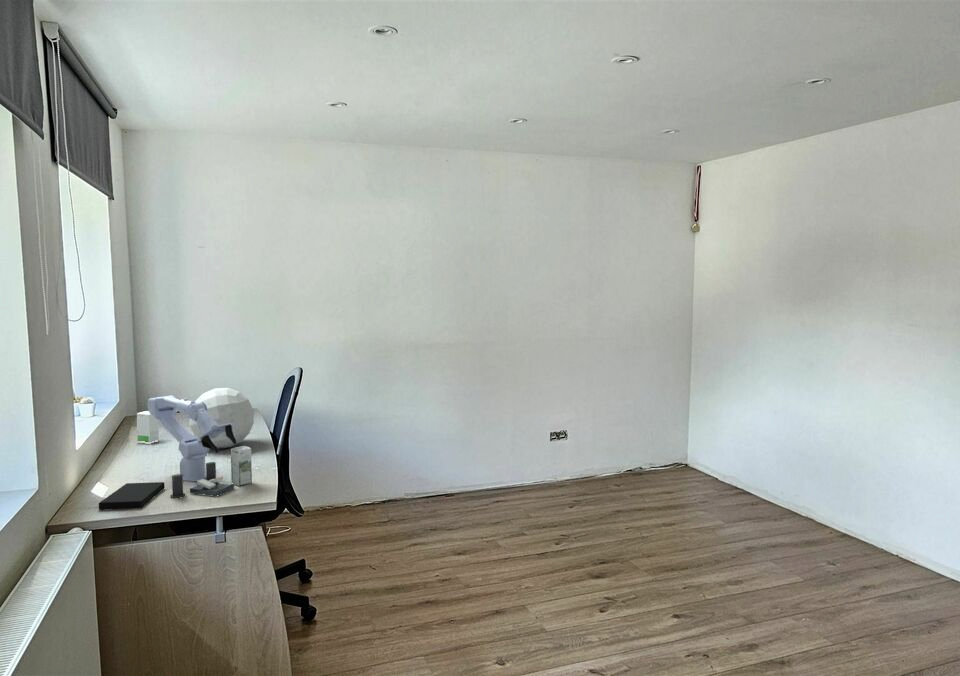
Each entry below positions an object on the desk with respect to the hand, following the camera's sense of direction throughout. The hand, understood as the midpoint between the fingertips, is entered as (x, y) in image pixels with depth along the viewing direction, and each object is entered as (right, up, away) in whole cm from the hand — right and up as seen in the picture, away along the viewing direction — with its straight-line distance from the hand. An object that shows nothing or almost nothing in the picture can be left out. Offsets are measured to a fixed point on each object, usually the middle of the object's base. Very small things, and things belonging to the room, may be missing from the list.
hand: (226, 446), depth 254 cm
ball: (-27, -11, +66) cm, 73 cm away
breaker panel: (-4, -17, -4) cm, 18 cm away
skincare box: (-69, -11, +75) cm, 102 cm away
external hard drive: (-30, -18, -13) cm, 37 cm away
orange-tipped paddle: (-4, -13, -2) cm, 14 cm away
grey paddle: (-5, -13, -7) cm, 15 cm away
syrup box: (+4, -16, +6) cm, 18 cm away
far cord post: (-9, -16, +7) cm, 19 cm away
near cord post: (-14, -17, -10) cm, 24 cm away
